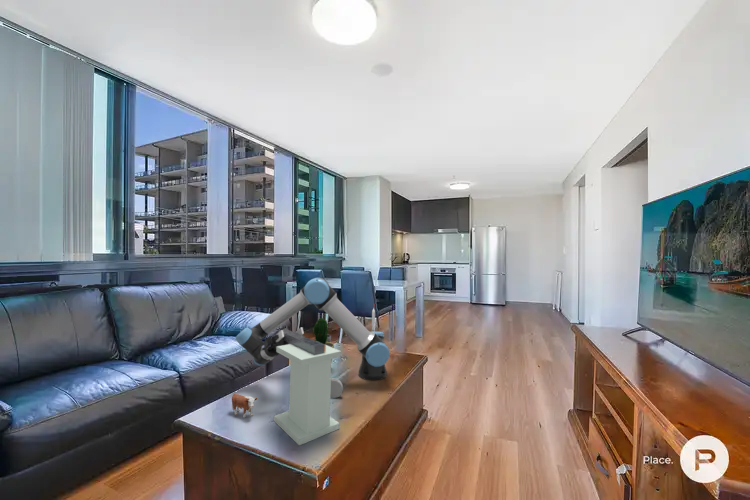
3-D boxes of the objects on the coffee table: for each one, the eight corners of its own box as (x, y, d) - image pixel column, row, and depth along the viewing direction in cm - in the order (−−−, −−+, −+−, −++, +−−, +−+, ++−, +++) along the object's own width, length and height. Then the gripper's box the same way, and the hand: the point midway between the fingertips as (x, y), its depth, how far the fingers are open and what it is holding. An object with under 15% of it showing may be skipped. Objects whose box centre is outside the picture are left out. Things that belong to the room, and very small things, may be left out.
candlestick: (382, 362, 185) (383, 304, 186) (364, 362, 184) (365, 304, 185) (380, 356, 196) (381, 302, 197) (363, 357, 195) (364, 302, 196)
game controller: (343, 396, 138) (343, 378, 138) (342, 399, 136) (342, 380, 136) (301, 394, 140) (301, 375, 140) (299, 396, 138) (300, 377, 138)
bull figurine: (249, 422, 114) (250, 400, 115) (228, 412, 121) (229, 392, 122) (259, 417, 118) (260, 396, 118) (238, 408, 125) (239, 388, 125)
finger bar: (278, 337, 130) (278, 330, 130) (288, 336, 133) (288, 329, 133) (314, 355, 107) (314, 346, 107) (325, 352, 110) (325, 344, 111)
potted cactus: (307, 367, 174) (309, 314, 175) (334, 367, 175) (336, 314, 176) (302, 377, 159) (303, 319, 160) (332, 377, 159) (333, 320, 160)
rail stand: (274, 420, 116) (276, 346, 117) (311, 408, 126) (313, 339, 127) (299, 445, 101) (301, 359, 102) (339, 428, 111) (341, 351, 112)
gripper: (294, 353, 144) (317, 337, 130) (249, 362, 130) (269, 345, 116) (291, 337, 147) (313, 320, 133) (247, 344, 133) (266, 326, 119)
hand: (292, 331), depth 124 cm, fingers open, 8 cm apart
